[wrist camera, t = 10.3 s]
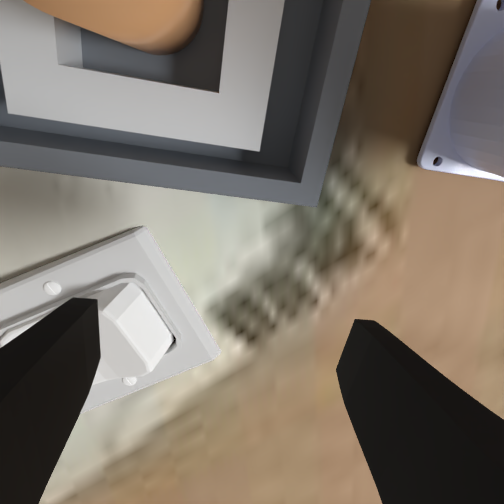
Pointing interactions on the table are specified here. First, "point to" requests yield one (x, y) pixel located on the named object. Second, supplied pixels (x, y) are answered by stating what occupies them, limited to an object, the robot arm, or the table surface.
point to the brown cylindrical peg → (133, 20)
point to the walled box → (183, 99)
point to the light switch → (117, 312)
